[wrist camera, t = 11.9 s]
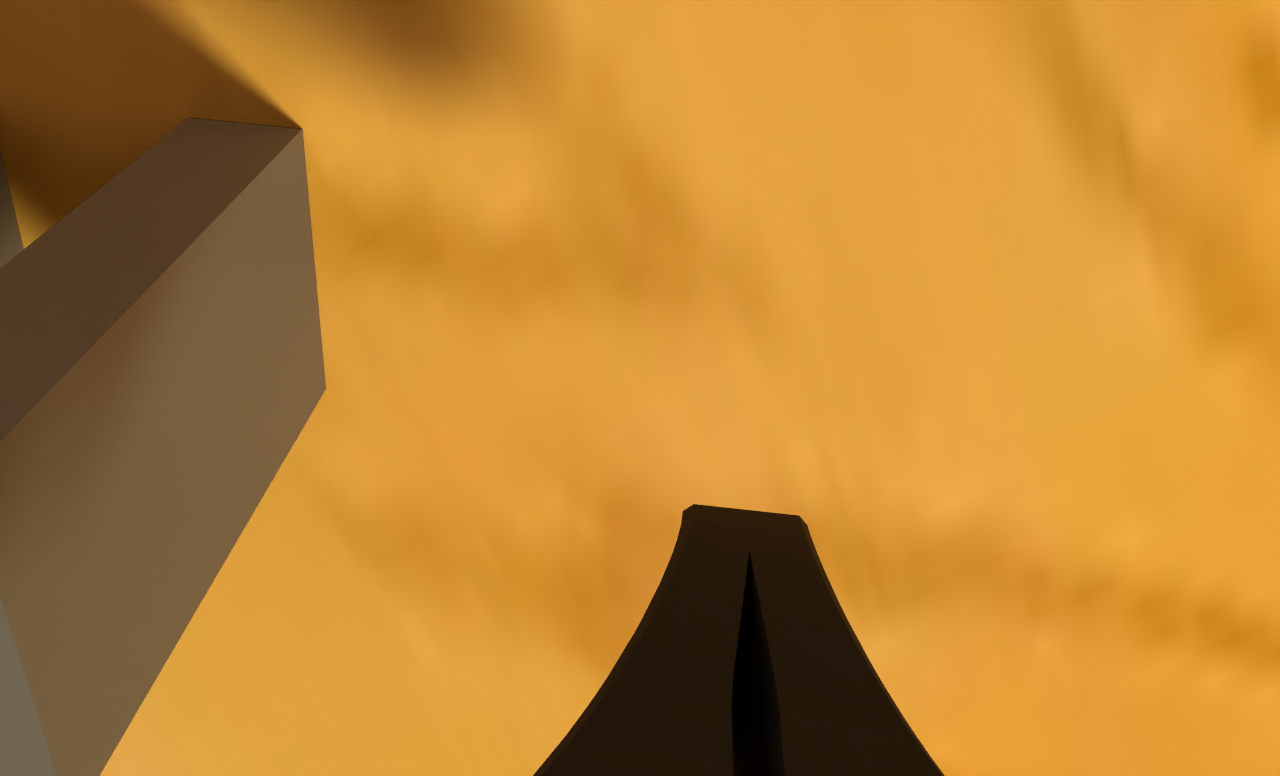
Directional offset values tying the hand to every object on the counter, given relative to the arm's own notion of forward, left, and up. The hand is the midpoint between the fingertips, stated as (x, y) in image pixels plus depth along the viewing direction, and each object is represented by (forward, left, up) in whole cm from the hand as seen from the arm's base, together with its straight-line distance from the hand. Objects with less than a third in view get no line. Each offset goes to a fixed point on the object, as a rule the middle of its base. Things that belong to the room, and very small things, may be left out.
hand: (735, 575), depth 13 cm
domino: (0, +8, -6) cm, 10 cm away
